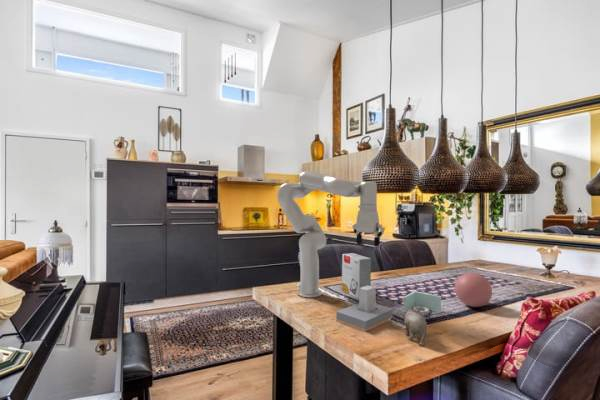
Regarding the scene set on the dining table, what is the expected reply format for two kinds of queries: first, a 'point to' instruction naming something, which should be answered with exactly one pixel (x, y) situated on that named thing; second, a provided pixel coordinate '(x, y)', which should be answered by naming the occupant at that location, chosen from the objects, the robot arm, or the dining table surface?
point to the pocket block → (363, 317)
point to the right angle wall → (422, 302)
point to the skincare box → (367, 299)
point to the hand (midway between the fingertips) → (367, 244)
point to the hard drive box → (355, 273)
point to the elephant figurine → (415, 325)
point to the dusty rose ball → (473, 289)
